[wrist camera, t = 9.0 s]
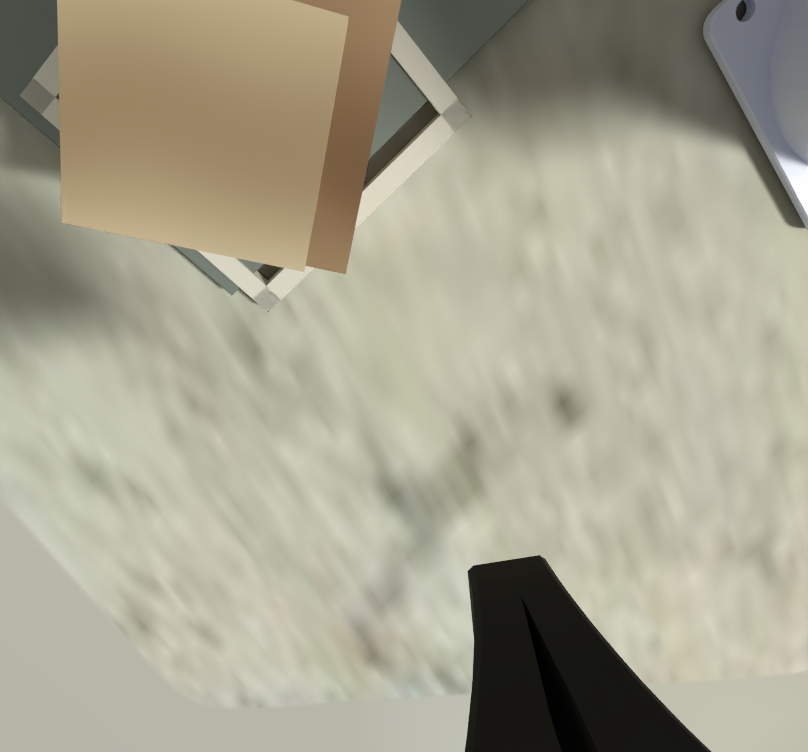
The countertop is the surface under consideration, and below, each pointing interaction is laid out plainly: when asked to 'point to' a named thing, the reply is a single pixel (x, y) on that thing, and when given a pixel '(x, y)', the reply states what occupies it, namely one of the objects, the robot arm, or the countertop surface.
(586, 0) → the countertop surface
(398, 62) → the slate mat
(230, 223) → the maple cube
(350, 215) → the walnut slab
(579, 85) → the countertop surface
